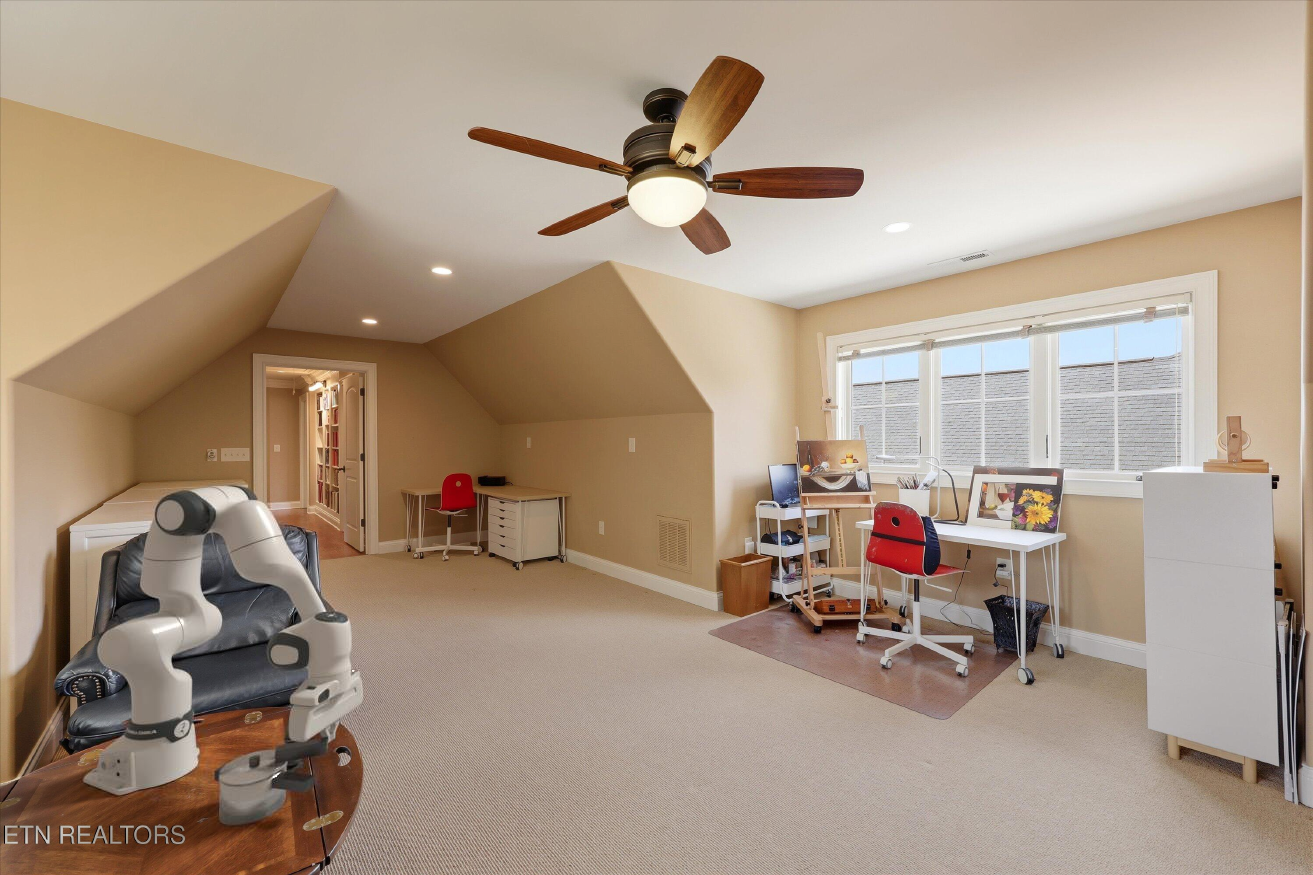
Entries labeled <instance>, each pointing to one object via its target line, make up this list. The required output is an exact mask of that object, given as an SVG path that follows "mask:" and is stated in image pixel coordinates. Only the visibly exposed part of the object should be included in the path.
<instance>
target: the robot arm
mask: <svg viewBox="0 0 1313 875" xmlns="http://www.w3.org/2000/svg"><path fill="white" fill-rule="evenodd" d="M147 532H148V533H147V534H146V535H147V536H146V539H145V544H144V548H143V555H142V563H141V564H142V566H141V573H140V584H139V586H140V589H141V590H142V592H143V593H144V594H146V595H147V596H149V597H150V598H151V597H152V598H155V599H158V601H159V611H158V612H156V613H152V614H148V615H144V616H140V617H136V618H133V619H129V620H128V621H125V622H123V623H121V624H118V625H116V626H114V627H112V628H110V629H109V630H106V631H105V632H104V633H103V635H102V636H101V638H100V639H99V642H98V645H97V648H96V649H97V651H96V652H97V657H98V659H99V661H100V663H101V664H102V665H103V666H105V667H106V668H107V669H110V670H112V671H116V672H118V673H119V674H121V675H122V676H123V677H124V678H125V680H126V682H127V683H128V686H129V688H130V693H131V717H130V718H128V719H126V720H123V721H122V722H121V723H122V725H121V728H122V727H126V728H125V731H124V733H123V734H122V735H121V736H120V737H118V738H117V739H115V741H113V742H112V743H110V744H109V745H108V746H106V748H104V749H103V750H102V751H101V752H100V755H99V757H98V761H97V762H98V763H97V767H95V768H93V769H92V770H91V771H89V772H88V773H87V774H85V776H84V777H83V780H82V782H83V783H85V784H87V785H90V786H92V787H95V788H98V789H100V790H103V791H105V792H108V793H110V794H114V795H116V796H123V795H126V794H129V793H132V792H136V791H139V790H145V789H149V788H154V787H158V786H161V785H164V784H167V783H170V782H172V781H176V780H178V779H179V778H181V777H183V776H185V775H187V774H189V773H190V772H191V771H193V770H194V769H195V768H196V767H197V766H198V765H199V764H198V763H199V758H198V756H199V755H200V752H201V751H200V748H199V747H197V741H196V739H197V738H196V732H195V731H196V730H195V724H194V718H195V717H194V716H195V711H194V706H193V705H192V702H193V701H192V700H193V699H192V697H193V679H192V676H191V675H190V674H189V672H186V671H185V670H184V669H183V670H182V669H178V668H174V666H173V663H172V657H173V656H174V655H176V654H179V653H182V652H184V651H188V650H191V649H193V648H197V647H200V646H201V645H202V644H204V643H206V642H208V641H210V640H211V639H213V638H214V637H216V636H217V635H218V634H219V633H220V631H221V628H222V625H223V617H222V616H223V615H222V613H221V611H220V609H219V608H218V607H217V606H216V605H214V604H213V603H211V602H210V601H208V600H207V599H206V598H205V596H204V594H203V591H202V585H201V573H202V572H201V570H202V560H203V550H204V549H203V548H204V540H205V537H206V536H207V535H208V534H212V533H216V534H219V536H221V537H222V539H223V540H224V542H225V544H226V545H225V546H226V549H227V551H228V554H229V556H230V557H229V558H230V559H231V562H232V565H233V567H234V569H235V570H236V572H237V573H238V575H239V576H240V577H242V579H245V580H247V581H250V582H253V583H258V584H265V585H266V584H268V585H272V586H276V587H278V588H281V589H282V590H283V591H285V592H286V594H287V595H288V597H289V598H290V600H291V603H292V604H293V606H294V607H295V609H296V611H297V613H298V615H299V617H300V619H301V622H299V623H296V624H293V625H291V626H289V627H287V628H285V629H282V630H280V631H278V632H277V633H276V634H275V633H274V635H273V636H271V638H270V639H269V641H268V643H267V645H266V646H267V647H266V656H267V660H268V662H269V663H270V665H271V666H272V667H273V668H275V669H276V670H278V671H281V672H282V671H283V672H286V671H287V672H288V671H289V672H290V671H295V670H301V669H306V670H307V671H308V672H307V678H306V679H305V680H304V681H303V683H301V684H300V686H299V687H298V688H297V689H296V690H295V691H293V692H292V694H291V695H290V697H289V703H290V705H293V706H292V707H291V710H290V711H289V716H288V717H289V719H288V724H289V737H290V739H291V740H292V741H297V742H305V741H307V740H311V738H313V737H315V736H316V735H317V734H320V736H321V738H325V737H328V744H329V743H331V742H332V741H333V740H335V738H336V731H337V729H338V727H339V725H340V719H341V718H343V717H344V716H345V715H347V714H349V713H350V712H351V711H353V710H354V709H356V708H357V707H359V706H360V705H362V702H363V700H364V689H363V680H362V678H361V672H360V671H359V670H358V669H356V668H352V663H351V658H350V656H351V652H352V641H353V640H352V627H351V620H350V619H349V617H348V615H347V614H345V613H343V612H341V611H337V610H336V611H334V610H331V609H330V608H329V606H328V605H327V603H326V601H325V600H324V597H323V596H322V594H321V592H320V590H319V588H318V586H317V585H316V583H315V581H314V579H313V578H312V576H311V573H310V572H309V570H308V569H307V567H306V566H305V564H304V563H303V562H302V561H301V560H300V559H299V558H297V557H296V556H295V555H294V554H293V553H294V552H292V550H291V549H290V547H289V546H288V544H287V542H286V539H285V537H284V534H283V532H282V530H281V528H280V526H279V524H278V522H277V520H276V518H275V516H274V515H273V512H271V510H270V509H269V507H268V505H266V503H265V502H263V501H261V500H258V498H257V495H256V494H255V492H254V491H252V489H250V488H248V487H245V486H242V485H235V484H233V485H232V484H231V485H212V486H211V485H210V486H204V487H199V488H194V489H189V490H188V489H187V490H179V491H175V492H172V493H169V494H166V495H165V496H164V497H162V498H161V499H159V501H158V503H157V505H156V506H155V509H154V518H153V520H152V522H151V523H150V527H149V529H148V531H147Z"/></svg>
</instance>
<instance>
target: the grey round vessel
mask: <svg viewBox="0 0 1313 875" xmlns="http://www.w3.org/2000/svg"><path fill="white" fill-rule="evenodd" d="M283 742H284V744H290V743H296V742H297V741H292V740H291V739H290V737H289V723H287V725H286V727H285V737H283ZM302 760H303V759H297V760H292V761H288V762H287V765H286V772H292V773H297V771H300V770H301V769H302V768H304V766H305V763H304V761H302Z"/></svg>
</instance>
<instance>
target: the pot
mask: <svg viewBox="0 0 1313 875" xmlns="http://www.w3.org/2000/svg"><path fill="white" fill-rule="evenodd" d="M226 764H227V763H225V764H223V765H222V766H219V767H218V768H217V769H214V781H216V782H219V805H218V806H219V807H218V808H219V810H218V811H219V812H218V813H219V815H218V819H219V821H220V822H221V823H222V824H224V825H227V826H241V825H246V824H251V823H254V822H257V821H259V820H262V819H265V818H267V817H269V816H271V815H273V814H274V813H275V812H277V811H278V810H279V809H280V808H282V807H283V805H284V804H285V802H286V798H287V796H286V793H287V791H291V792H299V793H307V792H308V791H310V789H312V788H313V787H314V786H315V782H316V781H315V777H316V776H315V775H314V774H308V773H307V774H306V773H299V772H293V773H292V772H286V766H285V768H284V769H283V770H281V771H280V772H279V773H277V774H276V775H274V776H272V777H270V778H268V779H265V780H263V781H260V782H257V783H253V784H249V785H242V786H227V785H224V784H222V783H221V782H220V781H219V773H220V770H221V769H222V768H223V767H224V766H225V765H226Z"/></svg>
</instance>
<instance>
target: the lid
mask: <svg viewBox="0 0 1313 875" xmlns="http://www.w3.org/2000/svg"><path fill="white" fill-rule="evenodd" d="M328 745H329V743H328V737H325V738H322V737H320V738H314V739H308V740H307V741H305V742H296V743H290V744H285V743H284V744H280V745H276V747H275V749H266V750H265V749H264V750H258V751H254V752H251V753H247V754H244V755H242V756H239V757H237V758H234V759H233V760H231V761H229V762H227V763H225V764H226V765H225V764H224V765H225V766H224V767H223V768H222V769H221V770H220V773H219V781H218V782H219V783H220V782H221V783H222V784H224V785H227V786H242V785H249V784H253V783H257V782H260V781H263V780H265V779H268V778H270V777H272V776H274V775H276V774H277V773H279V772H280V771H281V770H283V769H284V768H285V766H286V765H287V762H288V761H292V760H297V759H302V760H303V759H308V758H311V757H313V758H314V757H317V756H323V755H328V754H327V753H328V750H329V746H328Z"/></svg>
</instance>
